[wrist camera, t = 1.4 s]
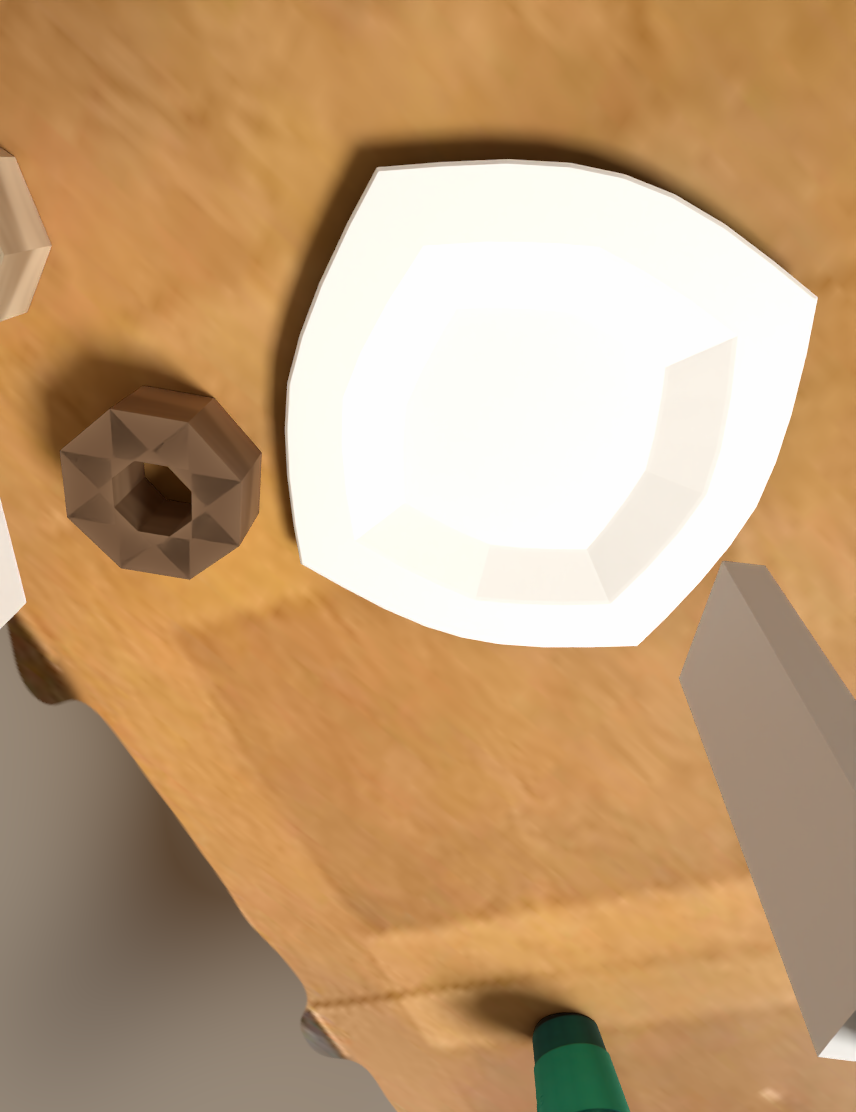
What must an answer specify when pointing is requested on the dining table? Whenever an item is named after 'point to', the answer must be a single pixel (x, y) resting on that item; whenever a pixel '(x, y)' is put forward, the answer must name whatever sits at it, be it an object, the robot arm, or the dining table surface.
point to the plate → (536, 400)
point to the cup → (574, 1067)
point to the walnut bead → (134, 503)
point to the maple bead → (18, 241)
